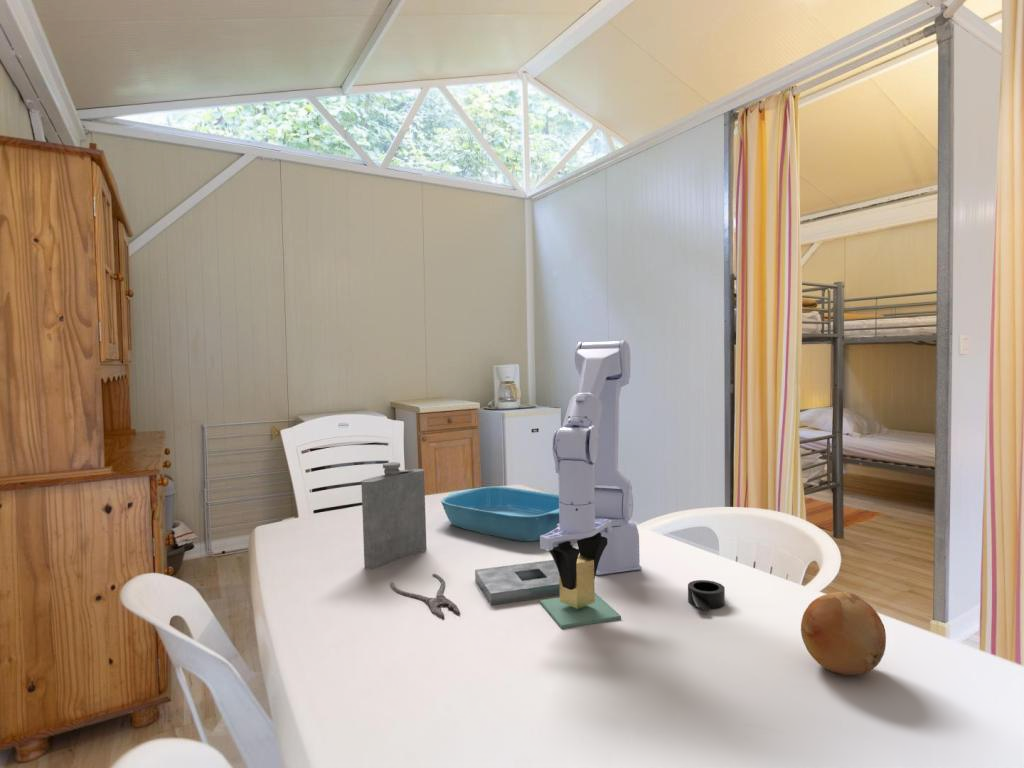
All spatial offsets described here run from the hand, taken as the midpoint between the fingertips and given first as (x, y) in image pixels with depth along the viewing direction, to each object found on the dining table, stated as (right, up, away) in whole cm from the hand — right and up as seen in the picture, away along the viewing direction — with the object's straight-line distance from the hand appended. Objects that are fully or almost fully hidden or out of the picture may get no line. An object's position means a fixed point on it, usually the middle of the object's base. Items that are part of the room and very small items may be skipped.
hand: (578, 584), depth 97 cm
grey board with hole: (-7, -4, +12) cm, 14 cm away
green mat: (0, -4, 0) cm, 4 cm away
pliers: (-24, -5, +9) cm, 26 cm away
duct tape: (+21, -4, +2) cm, 22 cm away
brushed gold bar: (0, -3, 0) cm, 3 cm away
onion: (+32, -5, -20) cm, 38 cm away
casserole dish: (-12, -3, +51) cm, 52 cm away
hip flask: (-35, -4, +29) cm, 46 cm away
